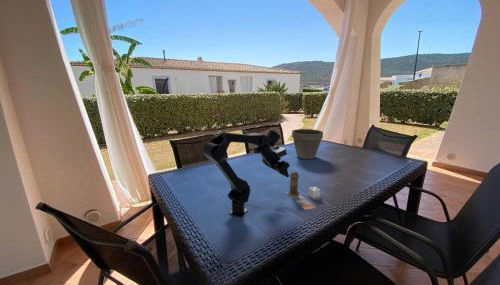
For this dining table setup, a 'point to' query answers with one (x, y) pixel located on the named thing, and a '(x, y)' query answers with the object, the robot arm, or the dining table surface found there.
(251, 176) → the dining table surface
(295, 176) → the pawn
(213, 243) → the dining table surface
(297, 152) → the plant pot
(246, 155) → the dining table surface
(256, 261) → the dining table surface
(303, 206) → the board
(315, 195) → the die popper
